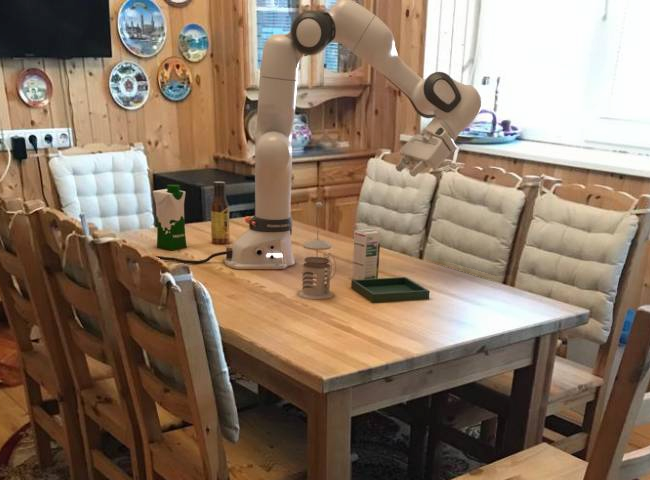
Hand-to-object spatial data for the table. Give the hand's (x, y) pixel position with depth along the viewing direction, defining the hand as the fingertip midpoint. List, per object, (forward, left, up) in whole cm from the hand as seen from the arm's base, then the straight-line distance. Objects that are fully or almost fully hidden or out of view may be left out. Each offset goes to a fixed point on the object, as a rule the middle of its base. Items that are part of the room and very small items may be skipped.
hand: (404, 172), depth 241 cm
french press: (-33, -17, -30) cm, 48 cm away
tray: (-12, -20, -30) cm, 38 cm away
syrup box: (-12, -4, -30) cm, 33 cm away
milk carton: (-61, +49, -30) cm, 83 cm away
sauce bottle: (-43, +53, -30) cm, 74 cm away
